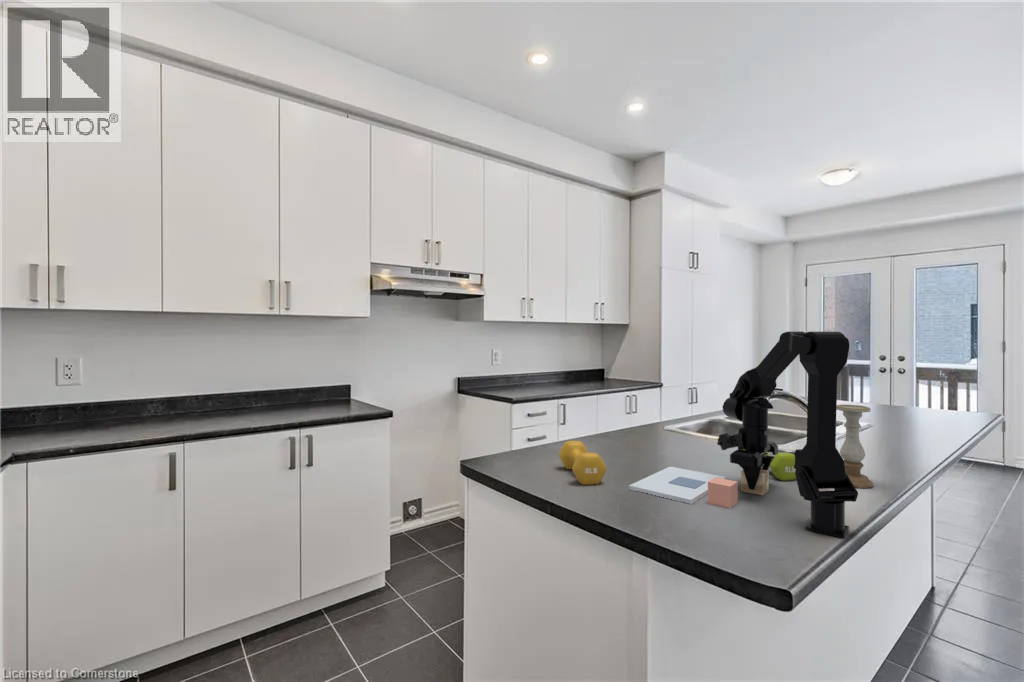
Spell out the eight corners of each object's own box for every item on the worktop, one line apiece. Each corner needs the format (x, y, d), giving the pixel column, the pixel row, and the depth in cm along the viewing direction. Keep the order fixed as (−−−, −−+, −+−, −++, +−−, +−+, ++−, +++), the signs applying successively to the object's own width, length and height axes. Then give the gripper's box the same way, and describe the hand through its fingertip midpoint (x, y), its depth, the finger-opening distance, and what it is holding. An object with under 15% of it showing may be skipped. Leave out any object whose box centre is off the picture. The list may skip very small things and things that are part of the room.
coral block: (730, 508, 108) (730, 486, 108) (707, 503, 111) (707, 482, 111) (737, 502, 112) (737, 481, 112) (715, 498, 115) (715, 477, 115)
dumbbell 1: (557, 467, 143) (557, 440, 142) (586, 466, 144) (586, 439, 144) (574, 487, 124) (574, 455, 124) (608, 485, 125) (608, 454, 125)
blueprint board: (691, 504, 111) (691, 499, 111) (629, 489, 121) (629, 484, 121) (727, 481, 128) (727, 476, 128) (670, 469, 139) (670, 465, 139)
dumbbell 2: (803, 481, 128) (803, 454, 128) (776, 482, 127) (776, 455, 127) (762, 465, 145) (762, 441, 145) (738, 466, 143) (738, 442, 143)
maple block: (762, 495, 116) (762, 475, 116) (741, 491, 120) (741, 471, 120) (768, 490, 120) (768, 470, 120) (747, 486, 123) (747, 467, 123)
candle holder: (825, 481, 128) (825, 405, 128) (843, 476, 132) (844, 403, 132) (861, 490, 120) (861, 409, 120) (880, 485, 124) (880, 407, 124)
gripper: (733, 416, 132) (733, 472, 132) (708, 425, 118) (708, 488, 118) (778, 421, 124) (778, 480, 125) (757, 431, 111) (756, 498, 111)
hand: (754, 486), depth 120 cm, fingers closed on maple block, 5 cm apart
